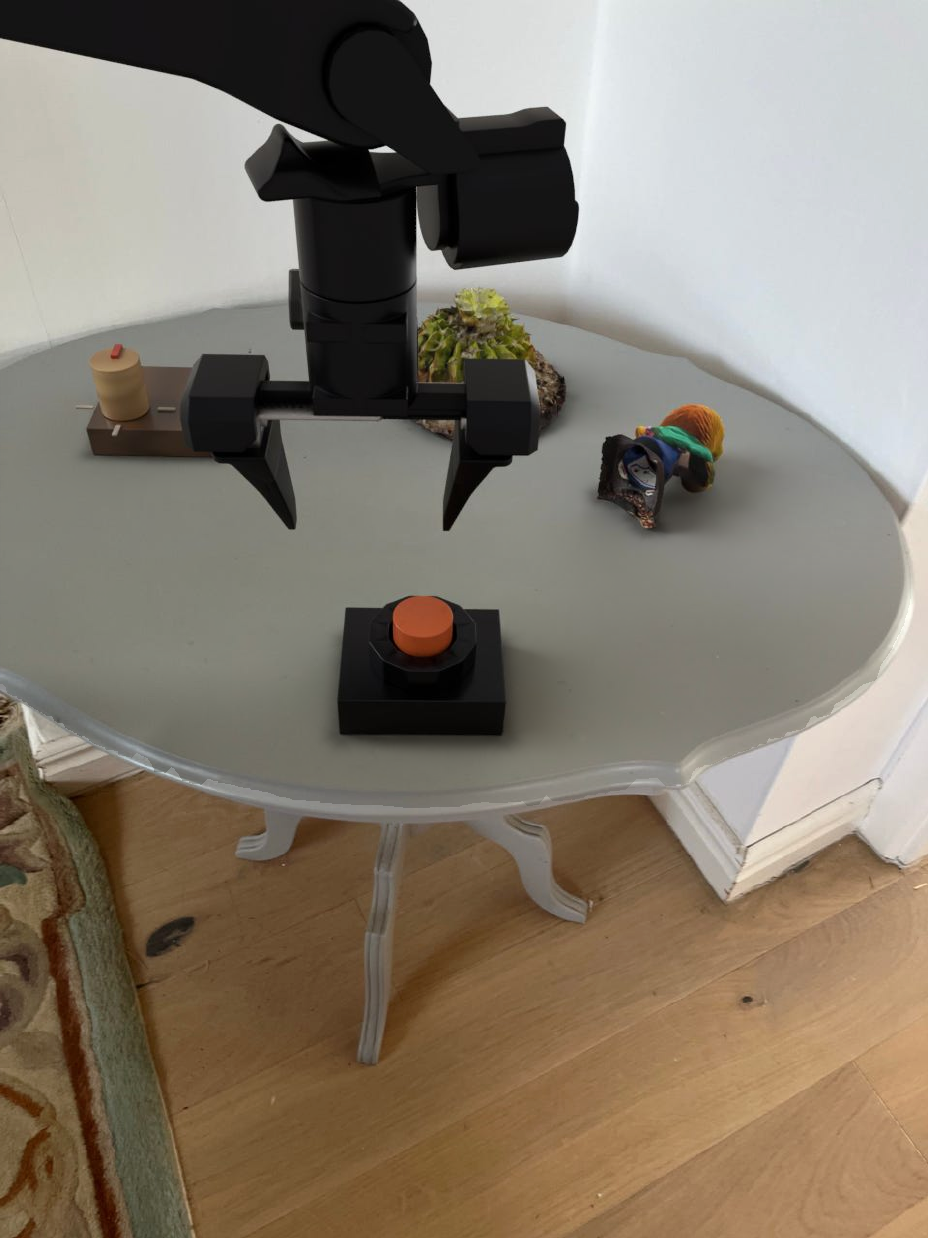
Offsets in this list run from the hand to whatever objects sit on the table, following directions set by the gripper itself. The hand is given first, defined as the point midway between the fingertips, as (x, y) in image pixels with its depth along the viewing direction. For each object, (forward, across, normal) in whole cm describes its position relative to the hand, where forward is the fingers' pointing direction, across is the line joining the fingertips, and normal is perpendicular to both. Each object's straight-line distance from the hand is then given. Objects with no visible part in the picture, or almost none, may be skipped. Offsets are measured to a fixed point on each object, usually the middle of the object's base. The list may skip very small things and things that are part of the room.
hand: (369, 525), depth 58 cm
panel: (+10, +19, -26) cm, 33 cm away
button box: (+10, -3, +4) cm, 11 cm away
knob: (+7, +21, -24) cm, 33 cm away
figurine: (+10, -22, -18) cm, 30 cm away
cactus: (+10, -8, -32) cm, 34 cm away
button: (+5, -3, +4) cm, 7 cm away
